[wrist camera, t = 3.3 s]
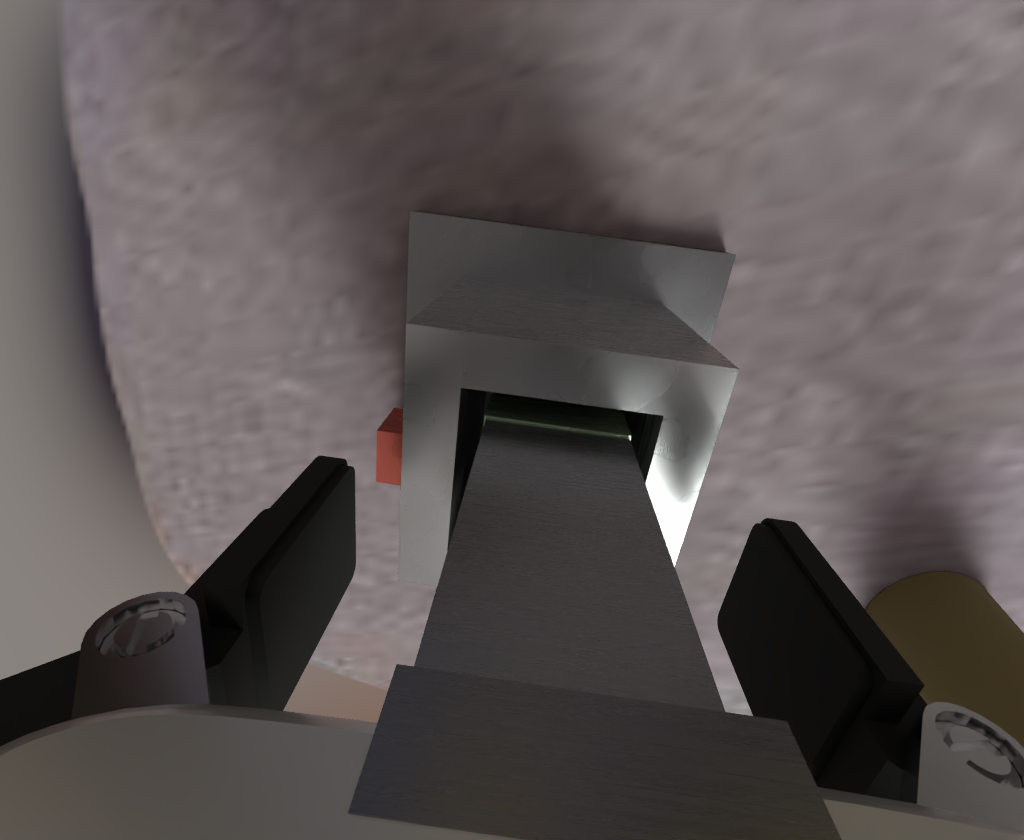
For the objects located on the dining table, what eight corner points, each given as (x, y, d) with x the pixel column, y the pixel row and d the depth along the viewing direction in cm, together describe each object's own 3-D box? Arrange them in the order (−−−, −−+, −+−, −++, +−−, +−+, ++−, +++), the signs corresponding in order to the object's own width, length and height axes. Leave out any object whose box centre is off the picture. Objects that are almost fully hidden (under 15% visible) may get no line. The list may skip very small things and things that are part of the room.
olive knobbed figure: (836, 641, 26) (1019, 916, 16) (908, 556, 24) (1175, 817, 14) (938, 672, 26) (1179, 959, 16) (1018, 591, 24) (1359, 870, 14)
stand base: (416, 210, 19) (313, 214, 11) (726, 252, 19) (867, 289, 10) (406, 477, 24) (330, 622, 15) (651, 512, 24) (707, 677, 15)
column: (510, 315, 19) (341, 810, 3) (606, 328, 19) (872, 892, 3) (494, 445, 21) (351, 1090, 6) (580, 457, 21) (667, 1139, 6)
